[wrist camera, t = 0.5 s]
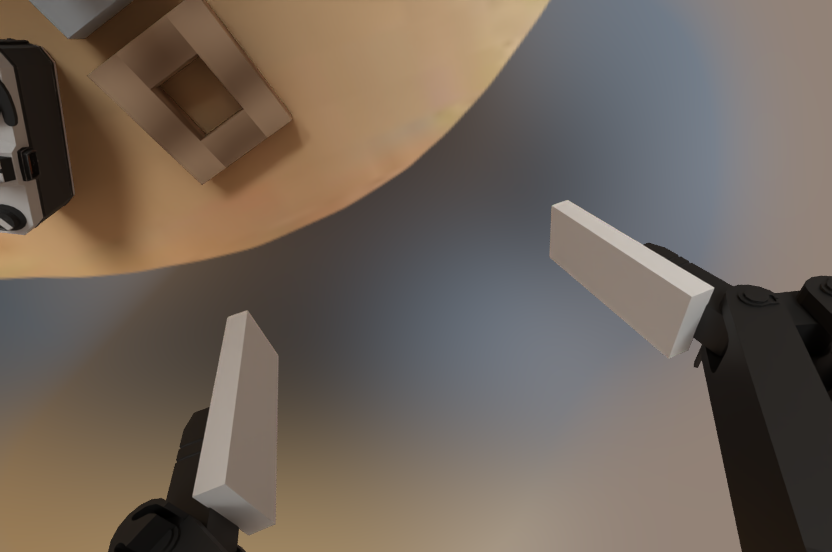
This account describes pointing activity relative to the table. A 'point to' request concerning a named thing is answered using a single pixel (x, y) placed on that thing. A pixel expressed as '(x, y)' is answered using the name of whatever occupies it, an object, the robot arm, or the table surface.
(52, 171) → the camera
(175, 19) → the dock block
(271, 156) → the table surface
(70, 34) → the plate
